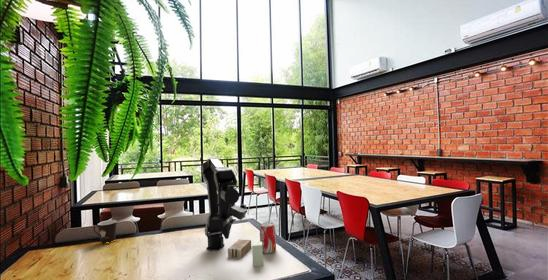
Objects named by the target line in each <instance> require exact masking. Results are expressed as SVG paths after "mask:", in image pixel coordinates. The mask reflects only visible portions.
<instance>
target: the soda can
mask: <svg viewBox="0 0 548 280" xmlns="http://www.w3.org/2000/svg"><path fill="white" fill-rule="evenodd" d="M259 242H262V252H263V253H264V254H272V253H274V252H275V251H276V250H277V233H276V227H275V224H274V223H273V222H262V223H261V224H260V227H259Z"/></svg>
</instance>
